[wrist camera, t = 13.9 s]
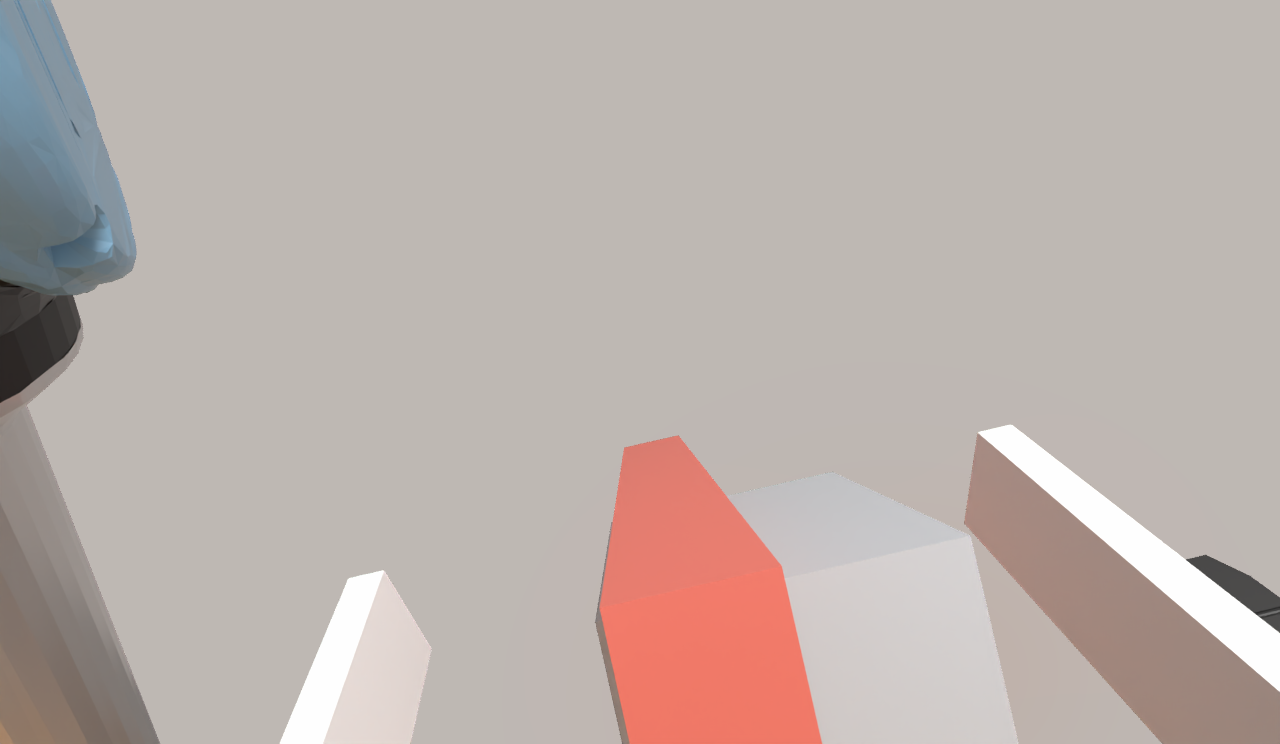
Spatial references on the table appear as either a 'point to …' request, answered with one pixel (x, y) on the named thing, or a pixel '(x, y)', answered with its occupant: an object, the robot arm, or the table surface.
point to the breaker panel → (878, 616)
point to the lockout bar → (698, 613)
